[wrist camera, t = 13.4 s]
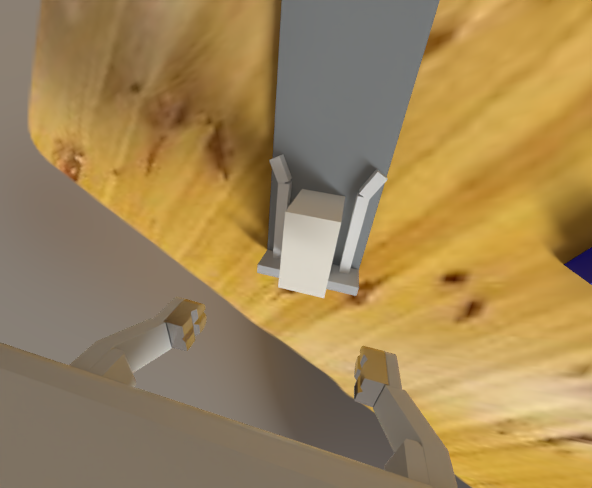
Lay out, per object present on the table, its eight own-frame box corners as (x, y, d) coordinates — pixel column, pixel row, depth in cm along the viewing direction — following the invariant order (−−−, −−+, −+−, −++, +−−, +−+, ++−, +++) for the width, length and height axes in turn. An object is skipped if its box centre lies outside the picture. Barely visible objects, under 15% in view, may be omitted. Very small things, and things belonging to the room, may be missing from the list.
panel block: (302, 188, 22) (285, 211, 17) (345, 196, 21) (341, 222, 16) (294, 252, 25) (278, 287, 20) (331, 260, 25) (324, 298, 20)
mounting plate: (290, -54, 16) (270, -105, 12) (451, -50, 14) (482, -105, 11) (270, 252, 28) (257, 272, 24) (356, 270, 26) (356, 295, 23)
